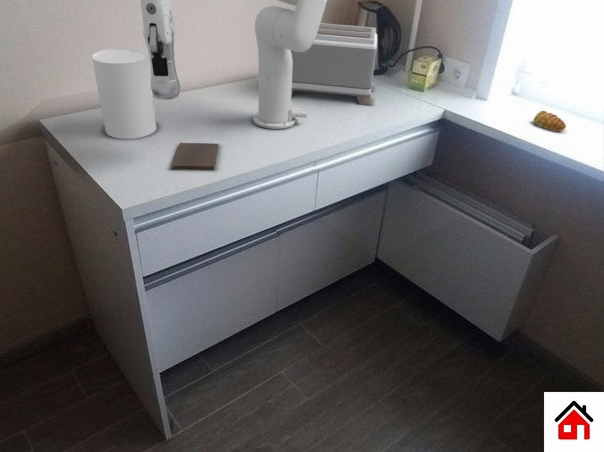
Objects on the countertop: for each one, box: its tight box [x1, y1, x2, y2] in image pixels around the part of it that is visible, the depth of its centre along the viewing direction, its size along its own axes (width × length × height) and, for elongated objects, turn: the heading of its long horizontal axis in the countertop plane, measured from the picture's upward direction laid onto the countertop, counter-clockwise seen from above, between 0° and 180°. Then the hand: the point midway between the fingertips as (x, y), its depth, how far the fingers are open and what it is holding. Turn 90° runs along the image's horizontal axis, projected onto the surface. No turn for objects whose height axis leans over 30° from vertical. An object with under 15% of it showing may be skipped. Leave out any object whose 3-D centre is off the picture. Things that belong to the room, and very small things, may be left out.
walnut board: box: [171, 142, 220, 171], centre depth 125 cm, size 10×13×1 cm
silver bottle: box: [142, 7, 181, 101], centre depth 110 cm, size 6×7×20 cm
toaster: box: [290, 22, 378, 106], centre depth 166 cm, size 19×34×20 cm, turn 82°
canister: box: [91, 47, 157, 140], centre depth 132 cm, size 14×14×20 cm
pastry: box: [533, 110, 567, 132], centre depth 154 cm, size 9×7×4 cm
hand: (163, 70), depth 112 cm, fingers closed on silver bottle, 5 cm apart
